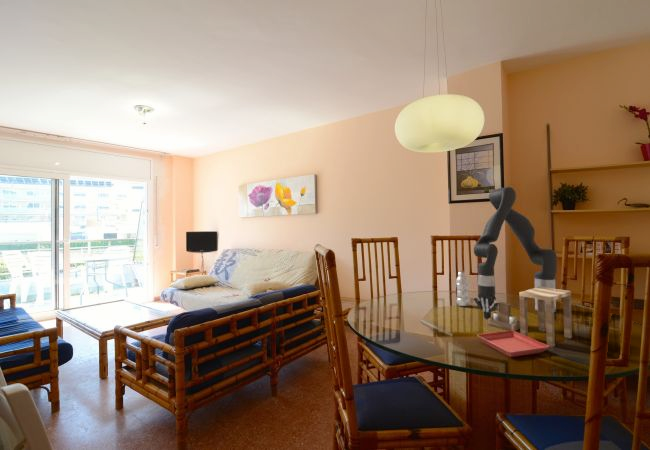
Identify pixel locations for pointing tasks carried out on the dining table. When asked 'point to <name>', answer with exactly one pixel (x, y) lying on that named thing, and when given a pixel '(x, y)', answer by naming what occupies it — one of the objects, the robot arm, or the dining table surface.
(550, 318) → the stool
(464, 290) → the plastic bottle
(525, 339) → the plant saucer
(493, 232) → the robot arm
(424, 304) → the dining table surface
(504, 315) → the caddy
